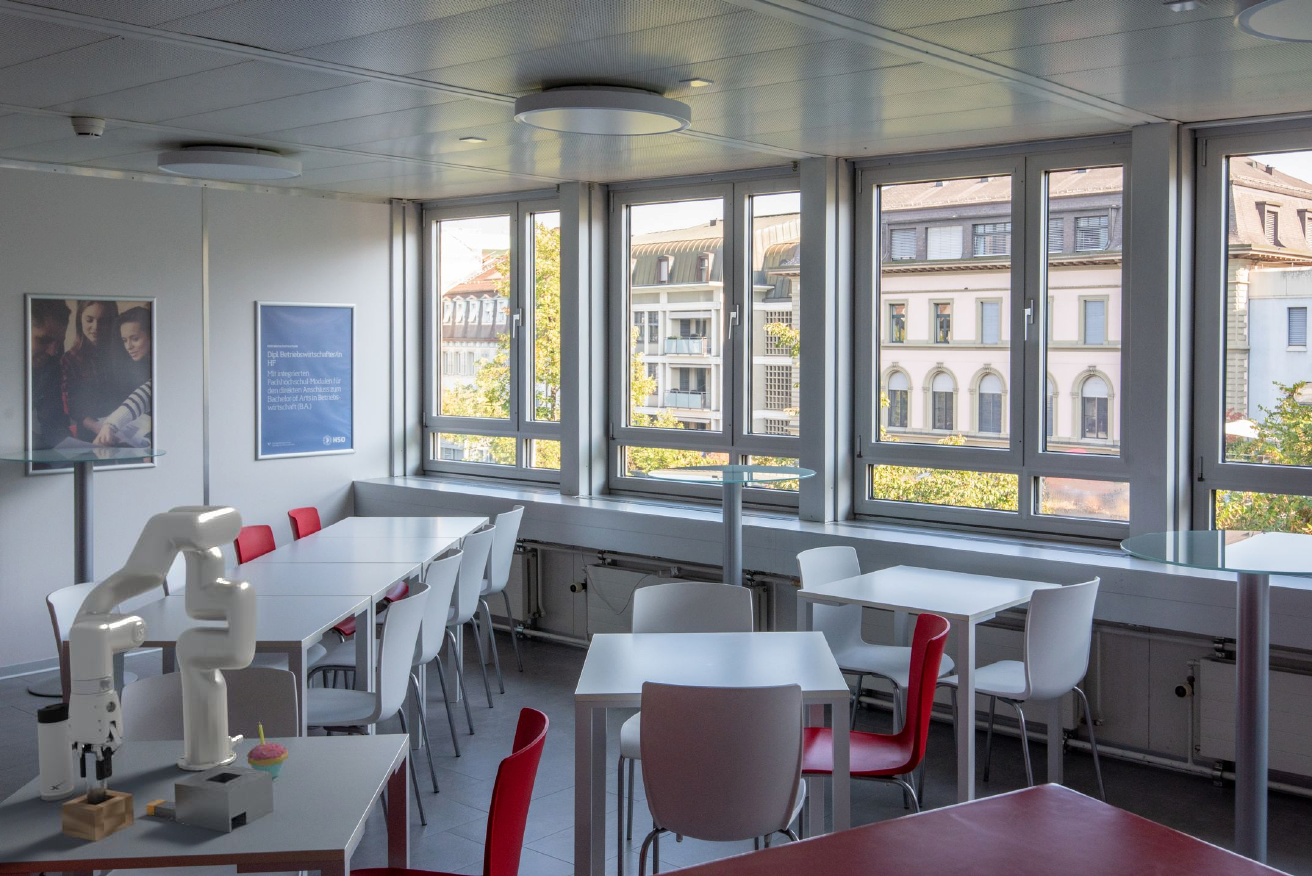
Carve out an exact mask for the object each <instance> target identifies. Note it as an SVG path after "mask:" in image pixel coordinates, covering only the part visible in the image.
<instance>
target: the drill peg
mask: <svg viewBox="0 0 1312 876" xmlns="http://www.w3.org/2000/svg"><path fill="white" fill-rule="evenodd" d="M105 749H106V748H103V751H104V750H105ZM96 760H98V756H97V749H96V748H93V749H91V750H88V751H86V752H85V762H86V777H85V784H86V785H85V786H86V787H85V788H86V794H87V804H91V805H98V804H100V803H103V802H105V801H107V790H108V781H107V779H108V778H106V779H103V780H100V781H99V780H97V779H96Z"/></svg>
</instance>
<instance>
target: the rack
mask: <svg viewBox="0 0 1312 876" xmlns="http://www.w3.org/2000/svg"><path fill="white" fill-rule="evenodd" d="M134 812H135V808H134V794H132V793H127V792H123V791H122V792H121V791H117V790H109V789H107V801H105V802H103V803H100V804H98V805H91V804H87V793H86V794H84V795H82V796H77V797H76V798H74V799H71V800H68V801H66V802H64V803H61V826H62V835H63V834H64V835H63V836H70V837H74V838H78V837H81V838H80V839H83V840H89V841H93V842H97V841H99V840H101V839H104V838H106V837H108V836H110V835H113V834H114V832H115V833H117V832H119V831H122V830H124V829H126V828H128V827H130V825H131V826H133V825H134V824H135V813H134ZM127 826H128V827H127ZM125 827H126V828H125ZM123 828H124V829H123ZM121 829H122V830H121ZM116 831H117V832H116Z"/></svg>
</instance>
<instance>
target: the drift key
mask: <svg viewBox="0 0 1312 876" xmlns="http://www.w3.org/2000/svg"><path fill="white" fill-rule="evenodd" d="M147 814H149V815H148V816H151V815H157V816H156V817H159V816H161V817H160V818H165V817H167V818H166V819H170V818H172V820H176V808H175V801H170V800H166V799H160V798H159V799H156V800H154V801H151V802H149V803H147V804H146V815H147Z"/></svg>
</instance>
